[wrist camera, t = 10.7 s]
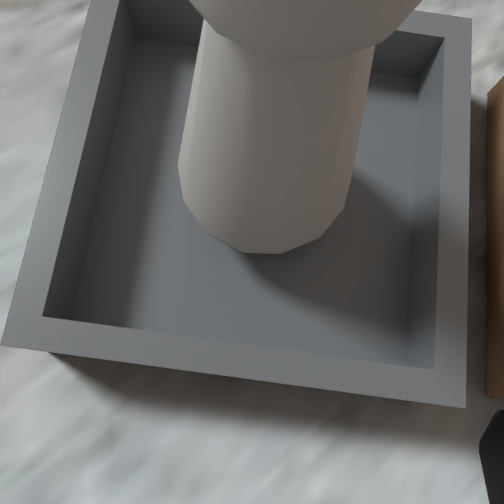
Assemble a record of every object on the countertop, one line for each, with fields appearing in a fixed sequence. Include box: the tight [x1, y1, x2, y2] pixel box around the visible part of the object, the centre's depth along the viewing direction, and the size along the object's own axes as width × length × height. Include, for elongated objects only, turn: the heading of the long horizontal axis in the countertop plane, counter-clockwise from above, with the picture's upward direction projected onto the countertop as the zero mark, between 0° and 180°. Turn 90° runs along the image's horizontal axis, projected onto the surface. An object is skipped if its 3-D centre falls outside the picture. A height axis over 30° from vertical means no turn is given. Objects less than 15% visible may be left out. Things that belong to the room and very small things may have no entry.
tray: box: [0, 0, 472, 409], centre depth 17 cm, size 14×14×4 cm
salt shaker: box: [178, 0, 422, 254], centre depth 12 cm, size 6×6×13 cm
